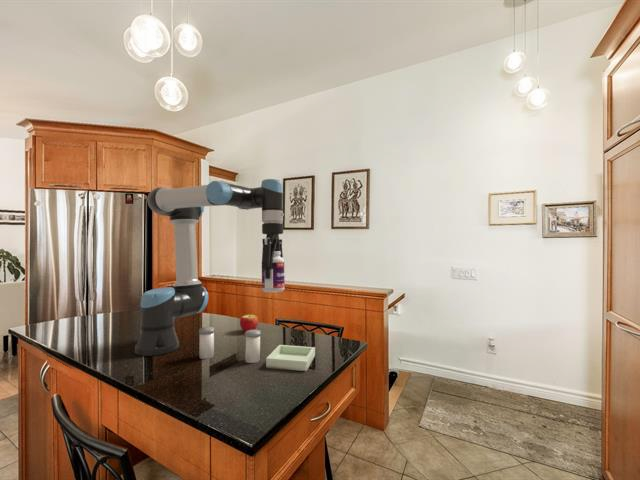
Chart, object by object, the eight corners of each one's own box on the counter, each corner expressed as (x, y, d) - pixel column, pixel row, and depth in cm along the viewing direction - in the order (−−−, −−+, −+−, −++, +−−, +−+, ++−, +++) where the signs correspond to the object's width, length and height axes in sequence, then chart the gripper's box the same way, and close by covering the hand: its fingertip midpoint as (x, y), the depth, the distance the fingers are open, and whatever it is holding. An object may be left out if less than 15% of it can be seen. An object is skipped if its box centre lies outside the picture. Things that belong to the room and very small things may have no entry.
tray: (266, 367, 104) (266, 358, 104) (279, 352, 117) (279, 344, 117) (306, 371, 101) (306, 361, 101) (315, 355, 115) (315, 347, 115)
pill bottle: (280, 293, 105) (279, 251, 105) (258, 293, 106) (257, 251, 107) (287, 290, 113) (287, 250, 113) (267, 289, 114) (266, 251, 115)
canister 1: (195, 358, 111) (195, 330, 111) (204, 353, 116) (204, 326, 116) (209, 359, 110) (209, 331, 110) (217, 354, 115) (217, 327, 115)
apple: (261, 330, 147) (261, 309, 147) (248, 335, 139) (248, 313, 139) (249, 328, 151) (249, 307, 151) (235, 332, 144) (236, 310, 144)
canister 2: (242, 362, 108) (243, 333, 108) (248, 356, 113) (249, 329, 113) (256, 363, 107) (257, 334, 107) (262, 358, 112) (263, 330, 112)
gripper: (272, 220, 99) (272, 291, 99) (291, 224, 120) (292, 283, 119) (250, 221, 101) (251, 290, 100) (273, 225, 121) (273, 283, 121)
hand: (273, 286), depth 110 cm, fingers closed on pill bottle, 8 cm apart
